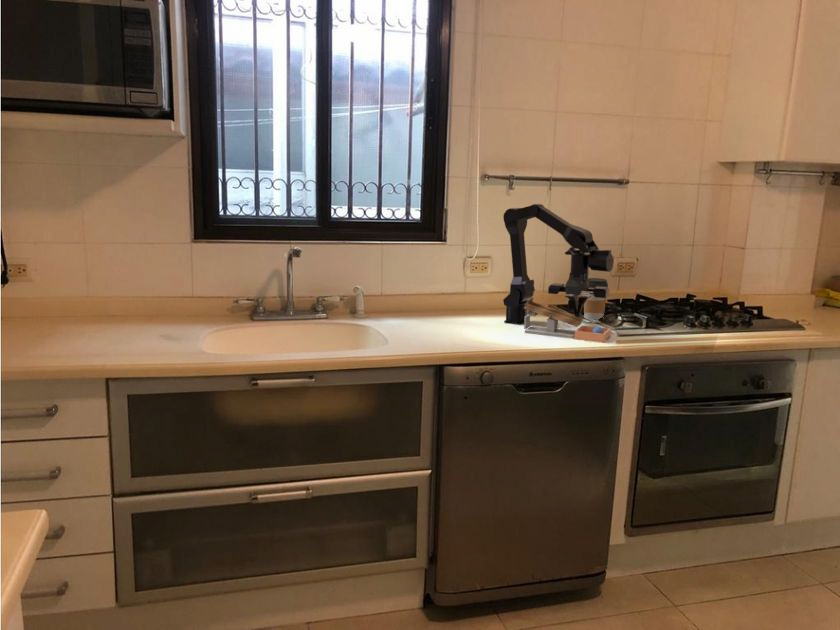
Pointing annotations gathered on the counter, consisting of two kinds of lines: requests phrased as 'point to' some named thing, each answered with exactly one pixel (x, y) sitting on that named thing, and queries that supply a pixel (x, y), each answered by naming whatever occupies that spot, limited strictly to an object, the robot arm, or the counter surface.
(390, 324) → the counter surface
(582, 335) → the dish
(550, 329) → the launcher base
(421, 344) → the counter surface
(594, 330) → the ball
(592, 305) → the coffee cup
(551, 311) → the lever
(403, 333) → the counter surface
